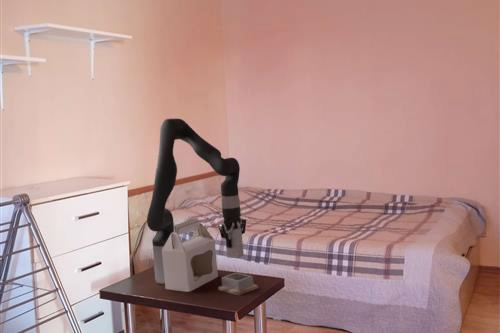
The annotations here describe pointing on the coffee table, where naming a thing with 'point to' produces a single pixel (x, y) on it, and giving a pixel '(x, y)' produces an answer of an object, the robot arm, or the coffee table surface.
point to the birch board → (238, 291)
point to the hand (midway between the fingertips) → (234, 245)
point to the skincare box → (235, 244)
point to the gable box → (189, 258)
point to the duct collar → (237, 281)
